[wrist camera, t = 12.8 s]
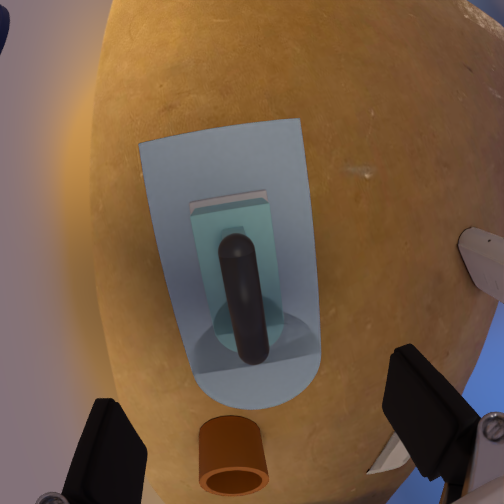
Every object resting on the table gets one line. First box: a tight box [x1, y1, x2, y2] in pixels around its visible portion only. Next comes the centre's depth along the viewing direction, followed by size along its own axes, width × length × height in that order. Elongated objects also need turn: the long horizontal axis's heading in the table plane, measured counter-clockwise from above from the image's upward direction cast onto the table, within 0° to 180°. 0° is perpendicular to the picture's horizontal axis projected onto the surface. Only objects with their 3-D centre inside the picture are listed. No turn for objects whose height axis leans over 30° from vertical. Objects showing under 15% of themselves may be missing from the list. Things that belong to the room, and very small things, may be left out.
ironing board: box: [139, 118, 321, 410], centre depth 28 cm, size 13×28×5 cm, turn 8°
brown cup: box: [199, 416, 269, 496], centre depth 34 cm, size 9×12×9 cm
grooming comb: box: [367, 432, 410, 474], centre depth 44 cm, size 18×10×1 cm, turn 174°
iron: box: [189, 189, 285, 365], centre depth 21 cm, size 12×6×9 cm, turn 8°
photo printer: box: [458, 227, 504, 304], centre depth 28 cm, size 10×4×12 cm, turn 44°
